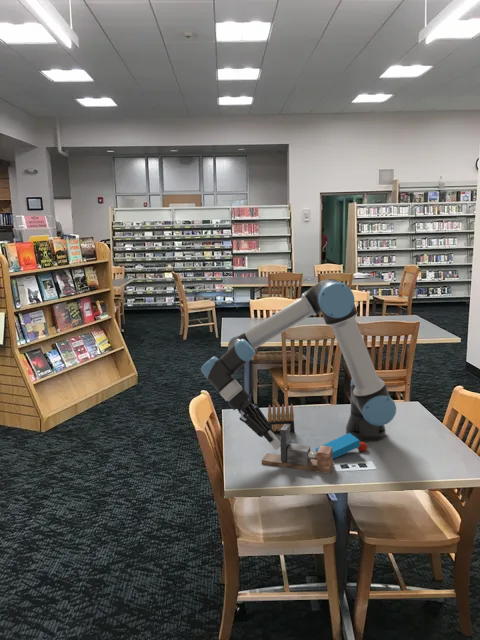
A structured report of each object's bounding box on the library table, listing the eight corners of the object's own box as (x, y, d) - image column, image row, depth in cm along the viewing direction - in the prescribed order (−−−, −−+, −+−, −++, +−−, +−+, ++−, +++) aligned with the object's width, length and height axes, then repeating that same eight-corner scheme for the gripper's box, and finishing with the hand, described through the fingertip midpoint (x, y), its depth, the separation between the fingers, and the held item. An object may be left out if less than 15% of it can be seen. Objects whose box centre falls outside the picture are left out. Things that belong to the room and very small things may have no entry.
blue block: (328, 473, 172) (372, 452, 176) (323, 456, 170) (367, 435, 174) (320, 465, 178) (362, 445, 182) (315, 448, 176) (357, 428, 181)
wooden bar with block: (261, 463, 171) (261, 445, 169) (267, 456, 176) (266, 438, 175) (330, 473, 162) (330, 454, 161) (333, 465, 167) (333, 446, 166)
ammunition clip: (293, 431, 198) (293, 402, 196) (294, 432, 196) (294, 404, 194) (267, 432, 197) (266, 403, 195) (268, 434, 195) (267, 405, 193)
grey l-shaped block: (280, 461, 168) (280, 429, 166) (284, 455, 173) (284, 424, 171) (325, 467, 163) (325, 434, 161) (328, 461, 167) (328, 429, 165)
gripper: (235, 395, 181) (277, 445, 178) (220, 407, 169) (265, 461, 166) (248, 383, 178) (291, 434, 175) (235, 394, 166) (281, 448, 163)
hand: (279, 447), depth 170 cm, fingers closed
